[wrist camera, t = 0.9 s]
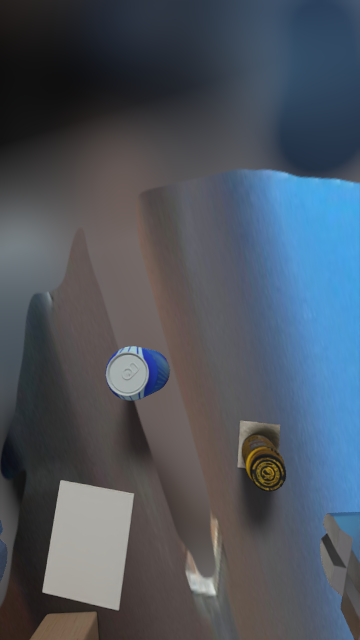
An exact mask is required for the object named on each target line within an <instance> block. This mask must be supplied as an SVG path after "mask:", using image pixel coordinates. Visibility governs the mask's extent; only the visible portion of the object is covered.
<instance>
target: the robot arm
mask: <svg viewBox="0 0 360 640" xmlns="http://www.w3.org/2000/svg"><path fill="white" fill-rule="evenodd" d="M323 526H324V528H325V530H326V531H327V533H326V534H325V535H324V536H323V537H322V538H321V545H320V553H321V560H322V565H323V568H324V571H325V574H326V576H327V579H328V581H329V583H330V586H331V587H332V588H333V589H334V590H335V591H336V592H338V593H339V594H340V595H341V596H342V602H341V611H342V613H343V615H344V617H345V619H346V622H347V624H348V626H349V628H350V631H351V633H352V635H353V637H354V639H355V640H360V512H343V513H327V514H326V515H325V517H324V523H323ZM2 531H3V528H2V524H1V521H0V534H1V533H2ZM6 563H7V547H6V544H5V543H4V542H3V541H2V540H1V539H0V581H1V579H2V577H3V574H4V570H5V567H6Z"/></svg>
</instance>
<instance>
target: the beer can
mask: <svg viewBox="0 0 360 640" xmlns="http://www.w3.org/2000/svg"><path fill="white" fill-rule="evenodd" d="M169 372H170V369H169V365H168V362H167V360H166V358H165V357H164V356H163V355H162V354H161V353H159V352H157V351H154V350H149V349H145V348H139V347H133V346H132V347H126V348H122V349H120V350H119V351H117V352H116V353H115V354H114V355H113V356H112V357H111V358H110V360H109V362H108V364H107V367H106V381H107V384H108V386H109V388H110V390H111V391H112V392H113V393H114V394H115V395H116V396H118V397H119V398H121V399H124V400H130V401H131V400H138V399H141V398H144V397H146V396H148V395H150V394H152V393H154V392H156V391H158V390H160V389H161V388H162V387H163V386H164V385H165V384H166V382H167V381H168V378H169Z"/></svg>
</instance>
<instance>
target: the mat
mask: <svg viewBox="0 0 360 640" xmlns="http://www.w3.org/2000/svg"><path fill="white" fill-rule="evenodd" d="M133 500H134V494H133V493H128V492H122V491H117V490H111V489H106V488H101V487H95V486H90V485H85V484H79V483H74V482H68V481H63V480H61V481H60V487H59V493H58V500H57V506H56V512H55V518H54V524H53V530H52V536H51V543H50V549H49V555H48V561H47V567H46V573H45V579H44V586H43V593H47V594H52V595H56V596H60V597H64V598H68V599H72V600H77V601H81V602H85V603H89V604H93V605H97V606H102V607H106V608H110V609H114V610H118V611H119V606H120V599H121V591H122V583H123V576H124V568H125V561H126V553H127V546H128V538H129V530H130V523H131V515H132V508H133Z"/></svg>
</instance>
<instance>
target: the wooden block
mask: <svg viewBox="0 0 360 640" xmlns="http://www.w3.org/2000/svg"><path fill="white" fill-rule="evenodd" d="M30 640H99V633H98V619H97V612H75V613H56V614H48V615H46V617H45V618H44V620H43V621H42V623H41V624H40V625H39V627H38V628H37V630H36V631H35V633H34V634H33V636H32V637H31V639H30Z"/></svg>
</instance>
